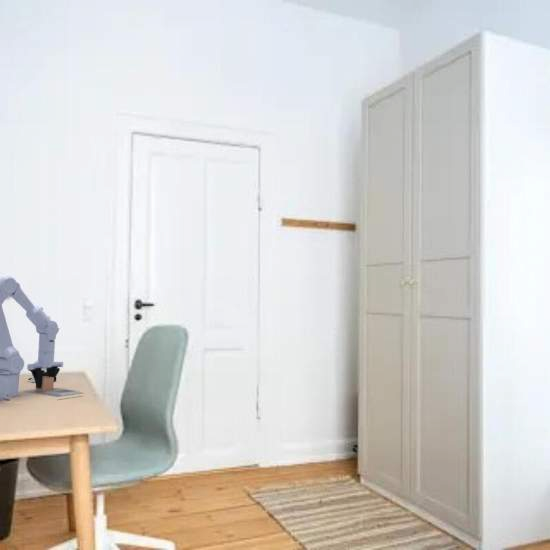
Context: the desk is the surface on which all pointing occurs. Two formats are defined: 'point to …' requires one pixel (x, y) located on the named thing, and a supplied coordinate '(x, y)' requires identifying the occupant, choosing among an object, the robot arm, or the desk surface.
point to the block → (46, 384)
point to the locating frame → (55, 392)
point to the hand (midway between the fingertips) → (44, 387)
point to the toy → (43, 374)
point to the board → (50, 394)
